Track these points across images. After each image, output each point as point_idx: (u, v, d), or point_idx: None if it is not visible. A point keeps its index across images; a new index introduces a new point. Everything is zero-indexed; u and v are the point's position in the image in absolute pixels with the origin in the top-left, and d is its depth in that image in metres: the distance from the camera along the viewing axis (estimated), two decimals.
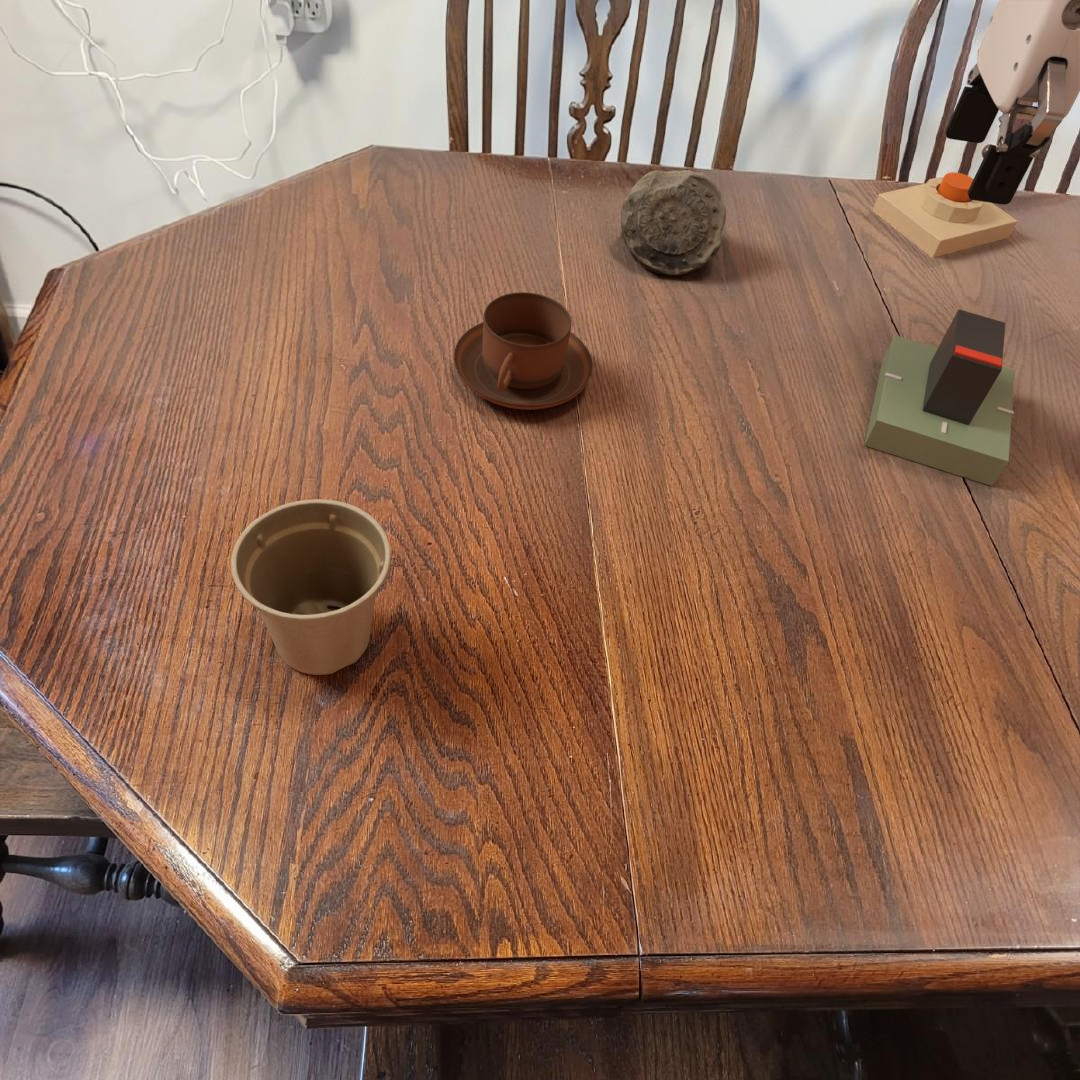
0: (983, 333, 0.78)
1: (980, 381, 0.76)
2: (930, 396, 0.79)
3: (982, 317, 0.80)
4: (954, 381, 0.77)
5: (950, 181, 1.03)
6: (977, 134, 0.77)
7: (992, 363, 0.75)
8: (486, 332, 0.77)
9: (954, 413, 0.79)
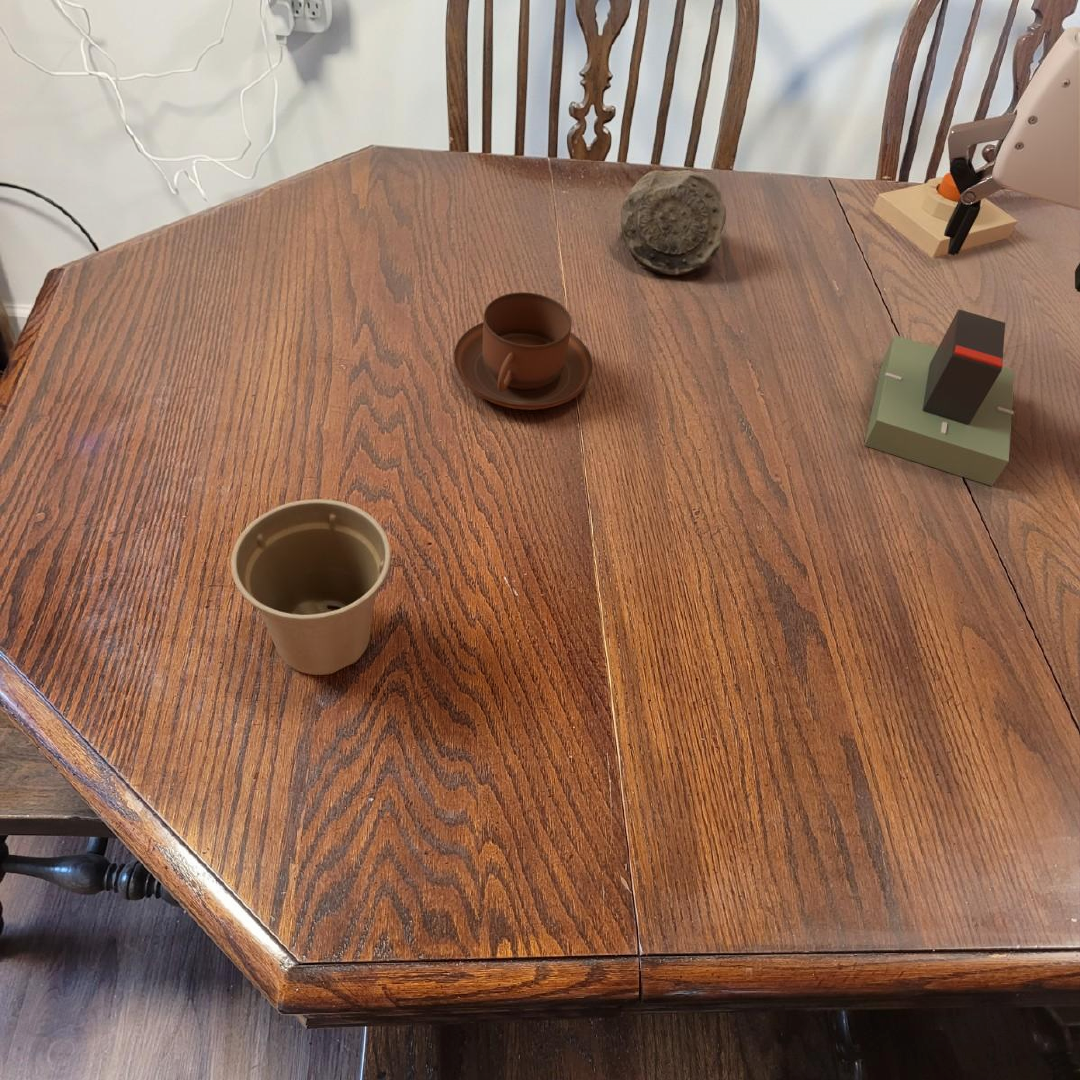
0: (983, 333, 0.78)
1: (980, 381, 0.76)
2: (930, 396, 0.79)
3: (982, 317, 0.80)
4: (954, 381, 0.77)
5: (950, 181, 1.03)
6: None
7: (992, 363, 0.75)
8: (486, 332, 0.77)
9: (954, 413, 0.79)
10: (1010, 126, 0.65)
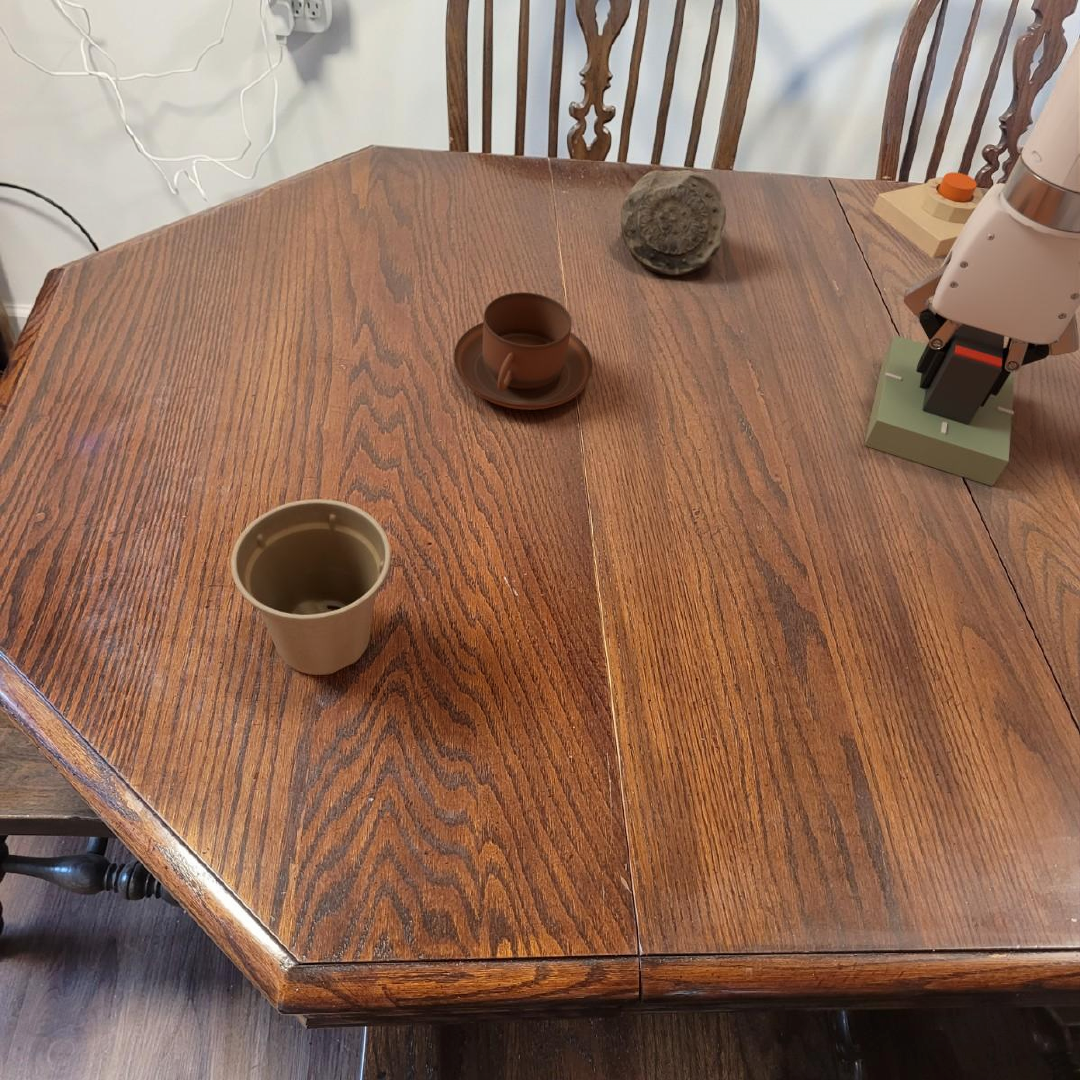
0: (983, 333, 0.78)
1: (979, 381, 0.76)
2: (930, 396, 0.79)
3: None
4: (954, 381, 0.77)
5: (950, 181, 1.03)
6: None
7: (992, 363, 0.75)
8: (486, 332, 0.77)
9: (954, 413, 0.79)
10: None
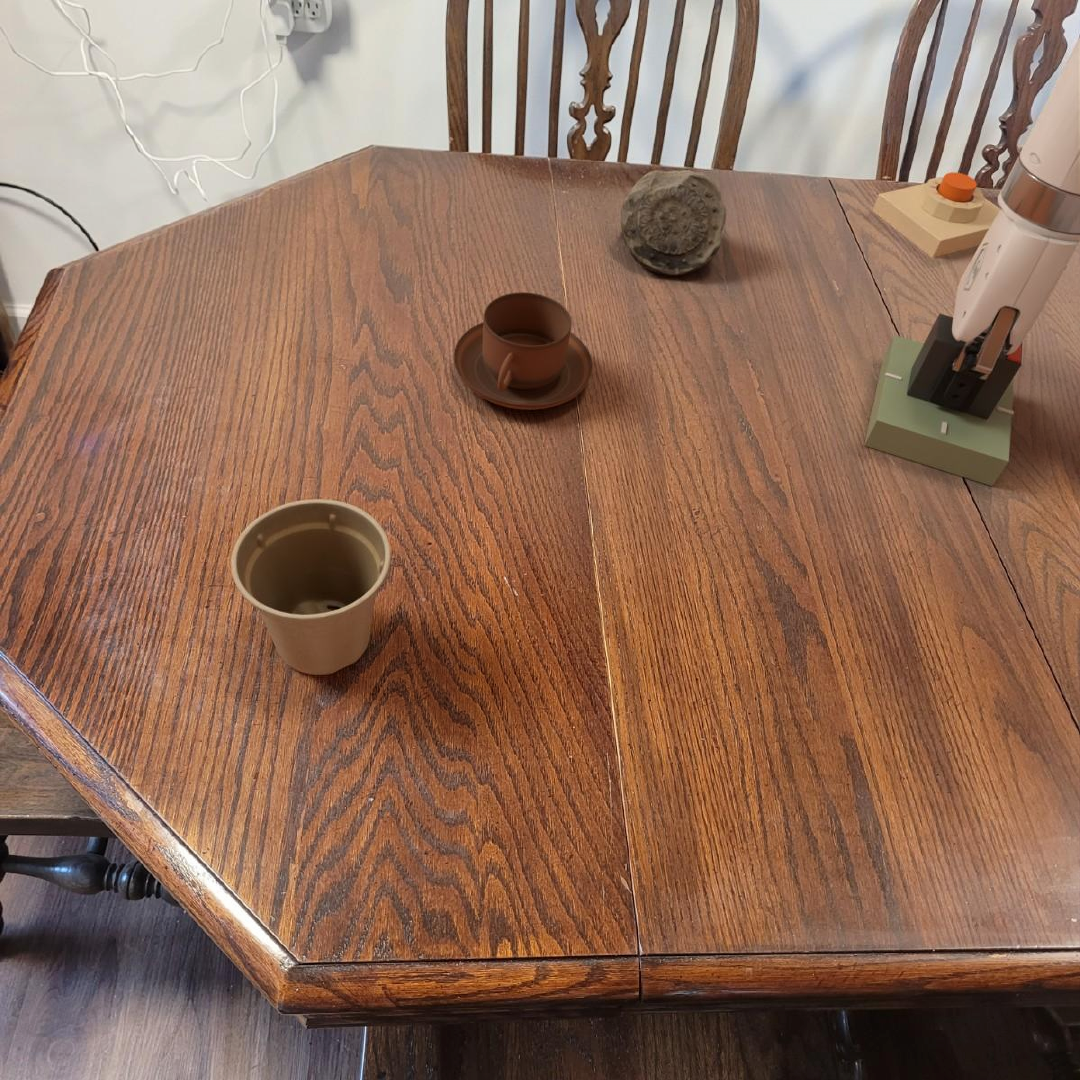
0: None
1: None
2: (995, 405, 0.79)
3: (941, 326, 0.78)
4: None
5: (950, 181, 1.03)
6: None
7: None
8: (486, 332, 0.77)
9: None
10: (1011, 323, 0.71)
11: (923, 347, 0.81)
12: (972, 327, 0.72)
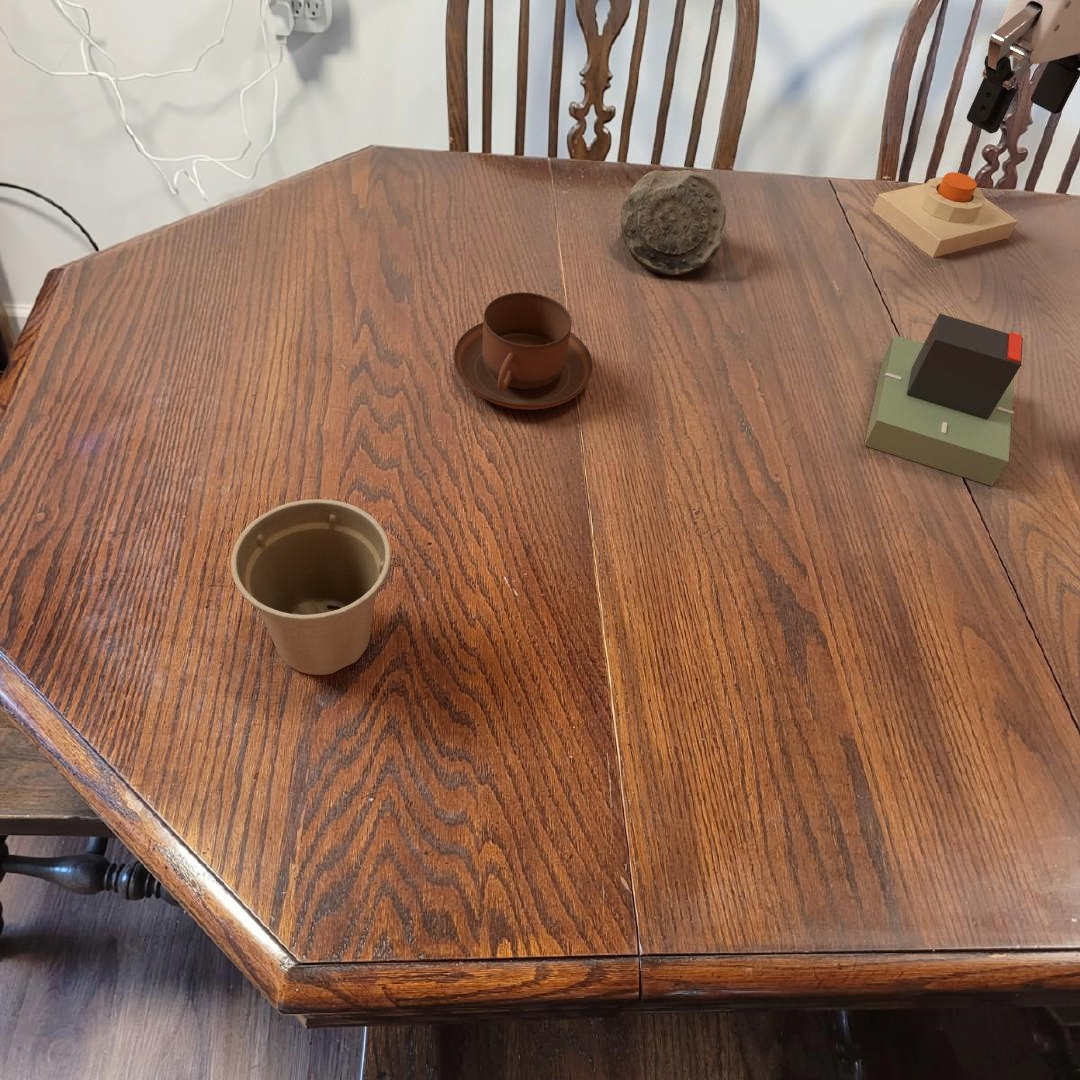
0: (969, 333, 0.78)
1: None
2: (995, 405, 0.79)
3: (941, 326, 0.78)
4: None
5: (950, 181, 1.03)
6: None
7: (1021, 340, 0.78)
8: (486, 332, 0.77)
9: None
10: (1038, 15, 0.78)
11: (923, 347, 0.81)
12: None
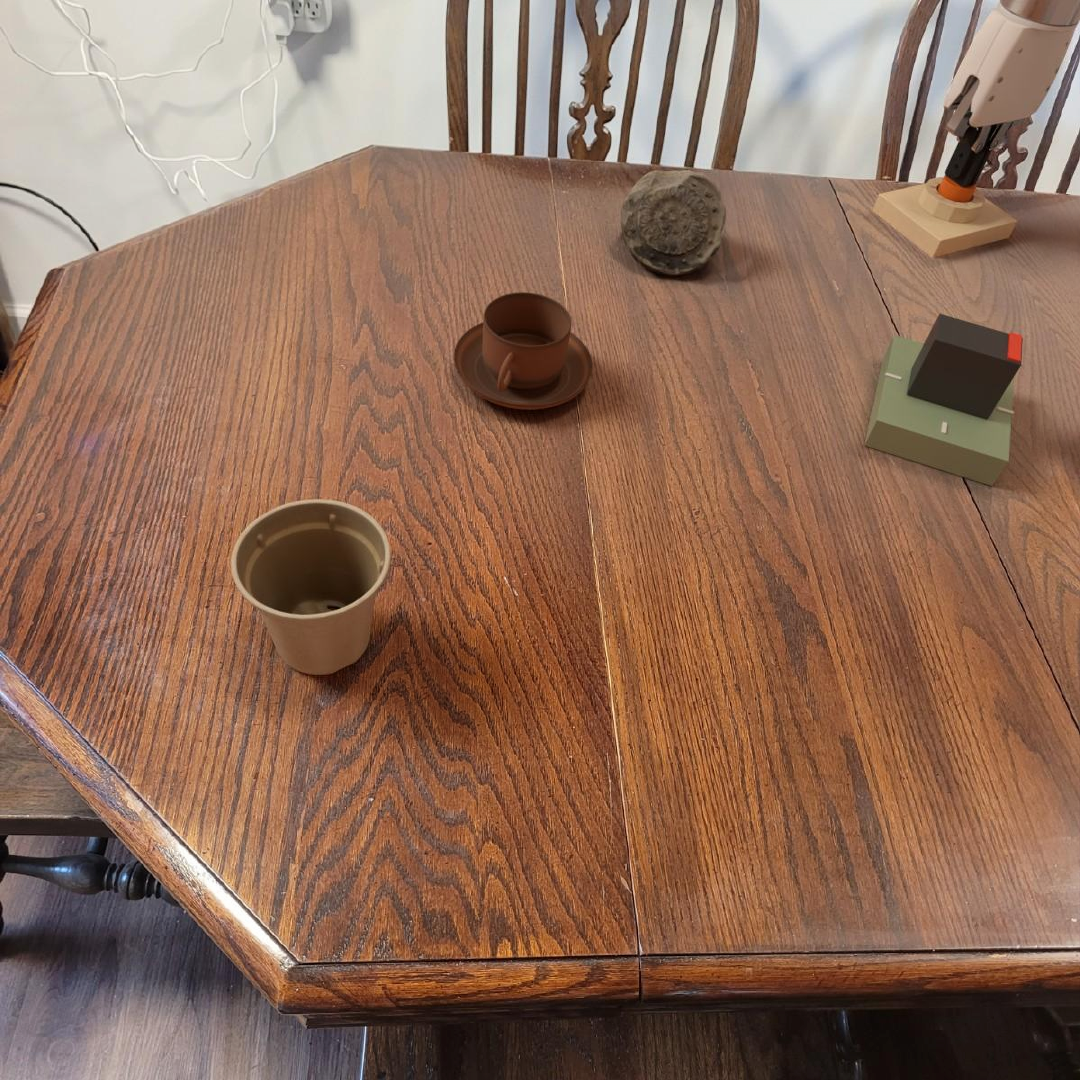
0: (969, 333, 0.78)
1: None
2: (995, 405, 0.79)
3: (941, 326, 0.78)
4: None
5: (950, 182, 1.03)
6: None
7: (1021, 340, 0.78)
8: (486, 332, 0.77)
9: None
10: None
11: (923, 347, 0.81)
12: (951, 93, 0.95)
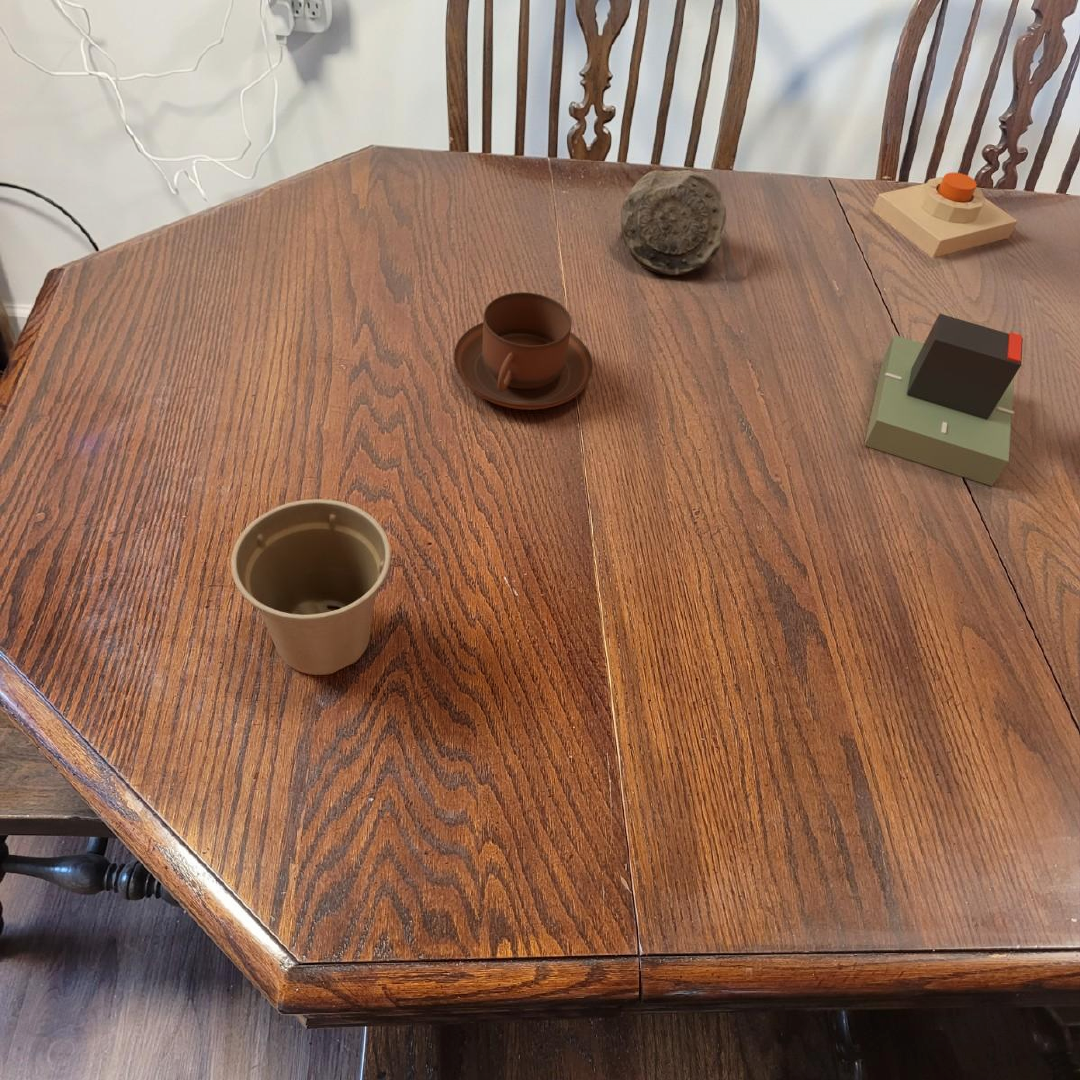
0: (969, 333, 0.78)
1: None
2: (995, 405, 0.79)
3: (941, 326, 0.78)
4: None
5: (950, 181, 1.03)
6: None
7: (1021, 340, 0.78)
8: (486, 332, 0.77)
9: None
10: None
11: (923, 347, 0.81)
12: None
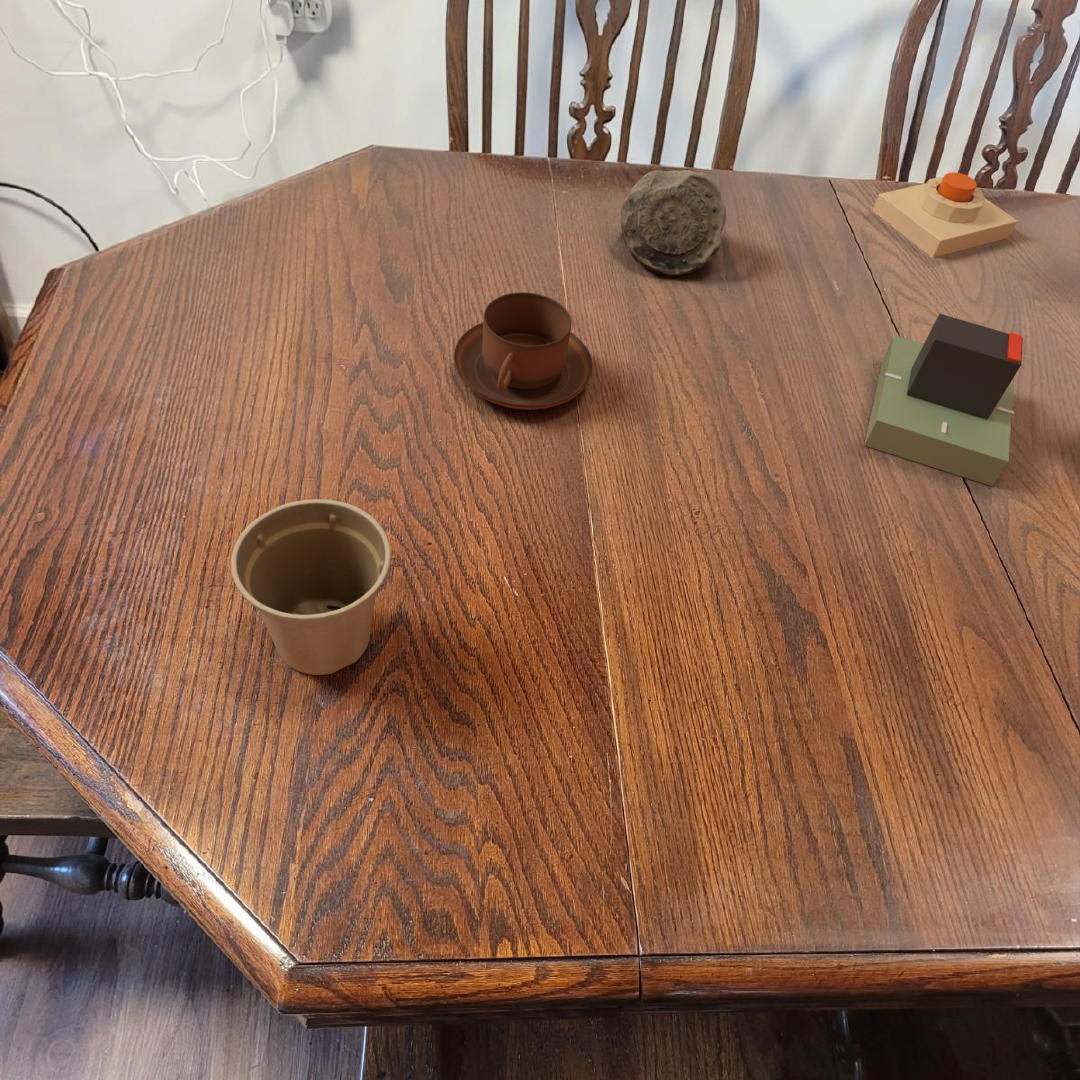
0: (969, 333, 0.78)
1: None
2: (995, 405, 0.79)
3: (941, 326, 0.78)
4: None
5: (950, 181, 1.03)
6: None
7: (1021, 340, 0.78)
8: (486, 332, 0.77)
9: None
10: None
11: (923, 347, 0.81)
12: None
